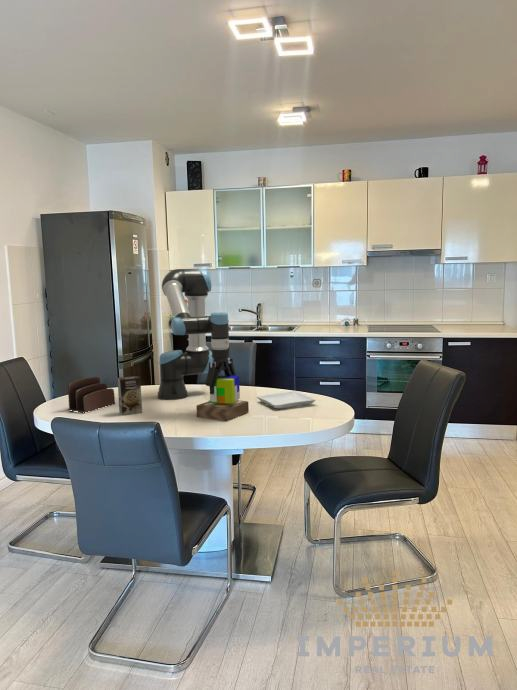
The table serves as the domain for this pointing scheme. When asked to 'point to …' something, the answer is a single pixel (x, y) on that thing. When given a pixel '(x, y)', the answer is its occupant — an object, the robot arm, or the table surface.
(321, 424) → the table surface
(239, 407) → the plinth
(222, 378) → the puzzle toy
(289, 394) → the salad plate
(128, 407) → the coffee box
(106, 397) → the letter holder
